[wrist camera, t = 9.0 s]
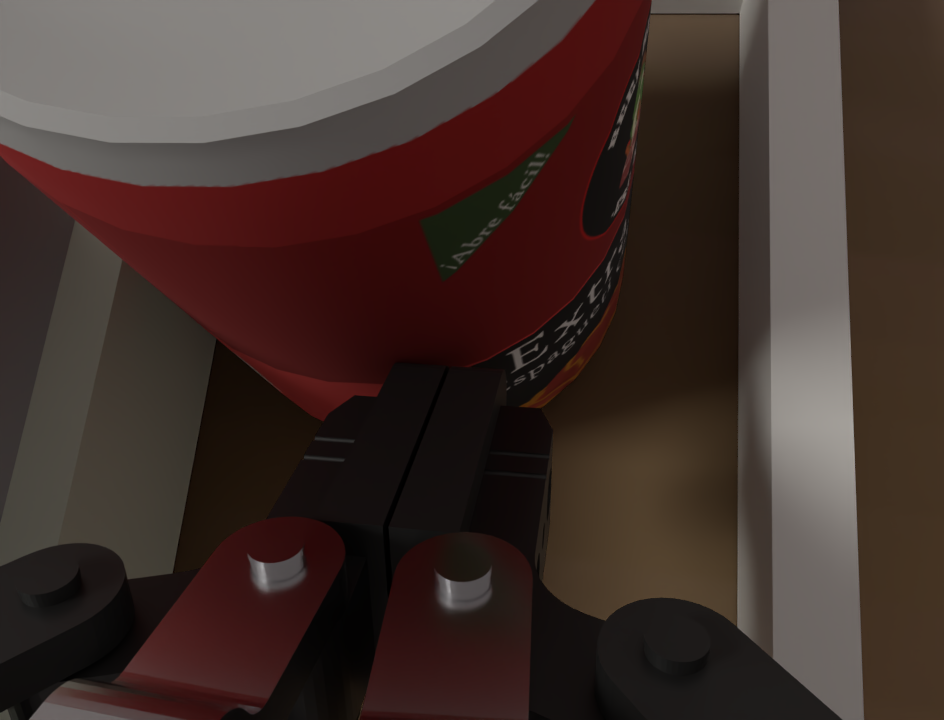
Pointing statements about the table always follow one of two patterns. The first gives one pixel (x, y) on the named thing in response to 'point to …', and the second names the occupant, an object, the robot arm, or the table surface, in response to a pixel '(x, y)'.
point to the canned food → (346, 172)
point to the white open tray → (759, 368)
